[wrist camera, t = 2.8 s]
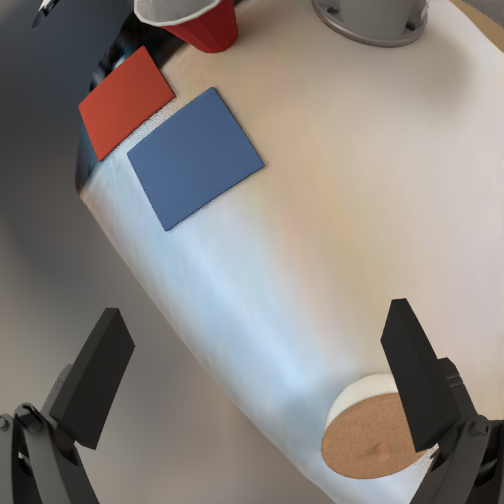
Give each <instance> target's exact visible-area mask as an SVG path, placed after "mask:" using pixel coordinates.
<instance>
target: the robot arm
mask: <svg viewBox="0 0 504 504" xmlns="http://www.w3.org/2000/svg"><path fill="white" fill-rule="evenodd" d="M462 1H464V2H465V3H467V4H469V5H470V6H472V7H473V8H475V9H477V10H478V11H480V12H481V13H483V14H484V15H486V16H487V17H489V18H490V19H492V20H493V21H494V22H496V23H497V24H499V25H500V26H501V27H503V28H504V0H462ZM312 5H313V8H314V10H315V12H316V14H317V15H318V16H319V18H320V19H321V20H322V21H323V22H324V23H325V24H326V25H327V26H329V27H330V28H331V29H333V30H334V31H336V32H337V33H339V34H341V35H343V36H345V37H347V38H349V39H352V40H354V41H357V42H360V43H364V44H368V45H373V46H379V47H397V46H403V45H406V44H409V43H411V42H413V41H415V40H416V39H417V38H418V37H419V36H420V35H421V34H422V32H423V30H424V28H425V26H426V23H427V9H428V7H429V6H428V2H427V3H426V0H312ZM380 341H381V344H382V346H383V349H384V352H385V355H386V357H387V360H388V363H389V366H390V369H391V372H392V375H393V378H394V381H395V384H396V387H397V390H398V393H399V396H400V399H401V402H402V406H403V409H404V412H405V416H406V419H407V423H408V426H409V430H410V433H411V437H412V441H413V444H414V448H415V452H416V453H417V452H421V451H424V450H427V449H430V448H432V447H433V446H434V445H435V444H436V443H437V442H438V445H439V448H438V449H437V450H436V451H435V452H434V453H433V454H432V455H431V457H430V459H432V458H433V457H434V459H433V461H432V463H431V465H430V467H429V469H428V471H427V473H426V475H425V477H424V479H423V481H422V482H421V484H420V486H419V488H418V490H417V491H416V493H415V495H414V497H413V498H412V500H411V502H410V503H409V504H504V420H492V421H491V420H488V419H487V418H486V417H484V416H483V415H478V413H477V412H476V410H475V408H474V405H473V403H472V401H471V398H470V396H469V394H468V392H467V389H466V387H465V385H464V384H463V381H462V379H461V377H460V376H459V375H460V374H459V372H458V370H457V368H456V366H455V365H454V364H453V363H452V362H451V361H450V360H449V359H448V358H447V357H446V358H442V359H437V357H436V354H435V352H434V350H433V348H432V346H431V344H430V342H429V340H428V338H427V336H426V334H425V332H424V331H423V329H422V327H421V325H420V323H419V321H418V319H417V317H416V315H415V314H414V312H413V310H412V308H411V306H410V305H409V303H408V301H407V299H406V298H403V299H394V300H392V301H391V305H390V309H389V313H388V316H387V320H386V323H385V327H384V330H383V334H382V337H381V340H380ZM134 348H135V345H134V342H133V340H132V338H131V336H130V334H129V332H128V329H127V327H126V325H125V323H124V321H123V318H122V316H121V313H120V311H119V309H118V308H106V309H105V310H104V312H103V314H102V315H101V317H100V318H99V320H98V322H97V323H96V325H95V327H94V328H93V330H92V332H91V334H90V335H89V337H88V339H87V341H86V342H85V344H84V346H83V348H82V349H81V351H80V353H79V355H78V357H77V358H76V360H75V362H74V364H73V365H71V364H68V365H67V366H66V367H65V368H64V369H63V370H62V371H61V372H60V374H59V376H58V378H57V381H56V382H55V384H54V386H53V388H52V389H51V391H50V394H49V395H48V397H47V399H46V401H45V403H44V405H43V407H42V409H41V411H40V412H38V410H37V409H36V408H35V407H34V406H33V405H31V404H30V403H22V404H21V405H19V406H18V407H17V408H16V409H15V412H14V414H13V418H12V417H11V416H10V415H9V414H2V415H0V504H100V503H99V502H98V499H97V497H96V495H95V493H94V491H93V489H92V486H91V484H90V482H89V479H88V477H87V474H86V472H85V470H84V467H83V464H82V462H81V459H80V456H79V454H78V451H77V448H76V447H75V445H74V442H75V440H76V441H77V442H78V443H79V444H81V445H82V446H84V447H87V448H91V449H94V450H96V447H97V444H98V441H99V438H100V435H101V432H102V430H103V427H104V424H105V421H106V418H107V416H108V413H109V410H110V408H111V405H112V402H113V400H114V397H115V394H116V392H117V389H118V387H119V384H120V382H121V379H122V377H123V374H124V372H125V369H126V367H127V365H128V362H129V360H130V357H131V355H132V353H133V350H134ZM19 452H20V453H21V458H19V457H18V456H19Z"/></svg>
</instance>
